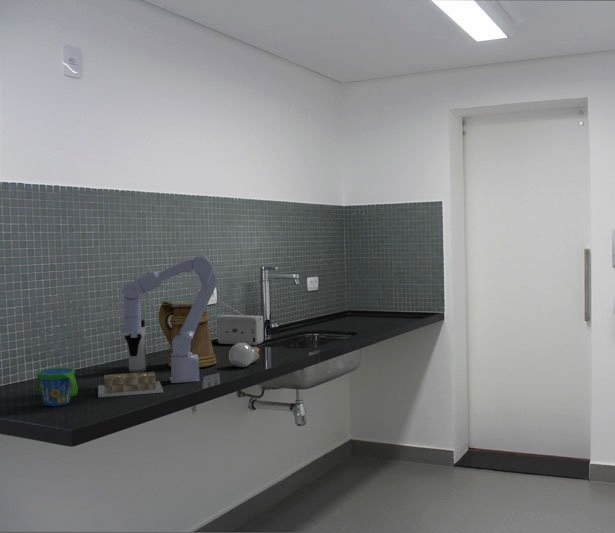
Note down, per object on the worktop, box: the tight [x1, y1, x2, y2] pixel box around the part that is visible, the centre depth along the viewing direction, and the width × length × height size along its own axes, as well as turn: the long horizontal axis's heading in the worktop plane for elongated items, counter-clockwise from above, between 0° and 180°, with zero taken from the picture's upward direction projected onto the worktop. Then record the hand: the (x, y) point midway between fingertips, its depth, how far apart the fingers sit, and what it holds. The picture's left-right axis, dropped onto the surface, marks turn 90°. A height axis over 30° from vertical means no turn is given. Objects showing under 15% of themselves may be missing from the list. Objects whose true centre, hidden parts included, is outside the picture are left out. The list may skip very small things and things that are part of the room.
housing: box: [103, 371, 157, 392], centre depth 235 cm, size 16×7×4 cm, turn 106°
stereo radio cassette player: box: [216, 300, 264, 347], centre depth 332 cm, size 21×8×20 cm, turn 69°
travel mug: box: [127, 319, 147, 373], centre depth 268 cm, size 6×7×20 cm
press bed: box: [97, 380, 164, 398], centre depth 235 cm, size 20×14×1 cm
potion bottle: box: [228, 343, 262, 368], centre depth 276 cm, size 9×10×15 cm
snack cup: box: [35, 367, 79, 407], centre depth 217 cm, size 16×10×10 cm
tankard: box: [158, 300, 217, 368], centre depth 279 cm, size 18×24×25 cm
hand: (133, 356), depth 247 cm, fingers closed
